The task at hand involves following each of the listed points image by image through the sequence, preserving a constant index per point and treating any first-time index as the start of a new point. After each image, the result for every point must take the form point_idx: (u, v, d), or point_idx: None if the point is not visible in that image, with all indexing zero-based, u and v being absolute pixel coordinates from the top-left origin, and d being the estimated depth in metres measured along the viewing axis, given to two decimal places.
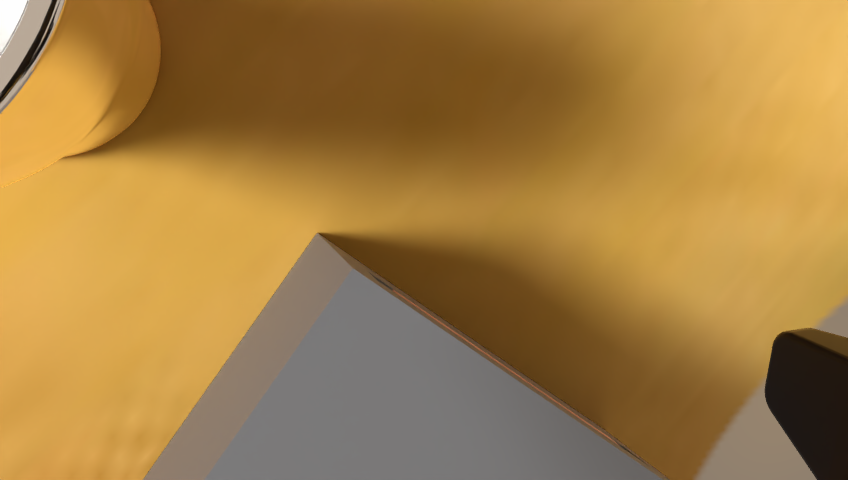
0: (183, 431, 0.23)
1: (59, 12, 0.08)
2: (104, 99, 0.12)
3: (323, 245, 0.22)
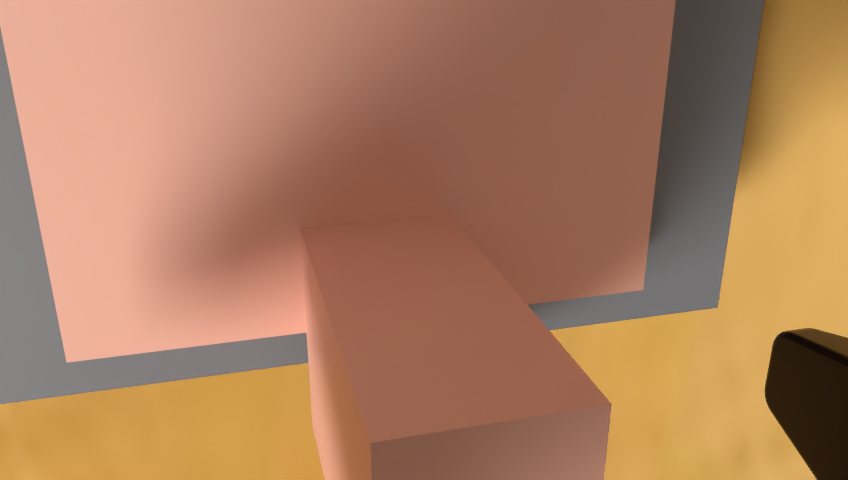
0: None
1: None
2: None
3: None
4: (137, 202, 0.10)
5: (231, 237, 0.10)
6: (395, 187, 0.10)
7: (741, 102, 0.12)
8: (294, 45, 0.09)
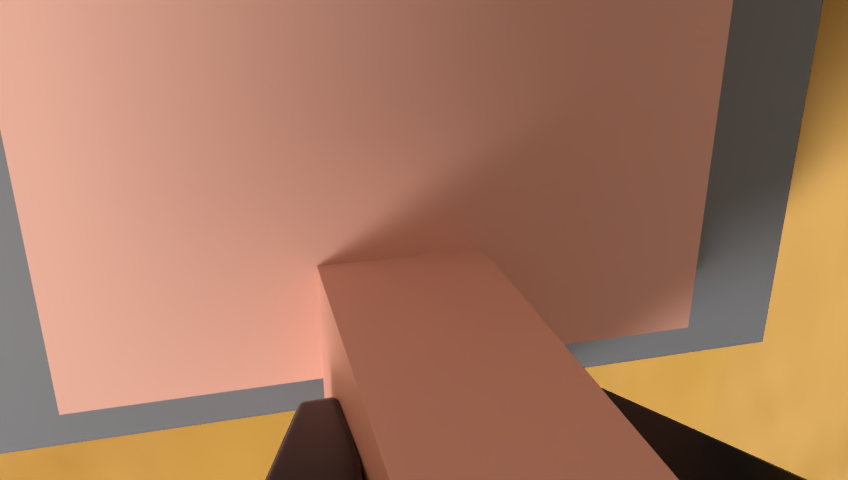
0: None
1: None
2: None
3: None
4: (137, 239, 0.09)
5: (242, 276, 0.09)
6: (421, 219, 0.09)
7: (793, 122, 0.11)
8: (312, 65, 0.08)
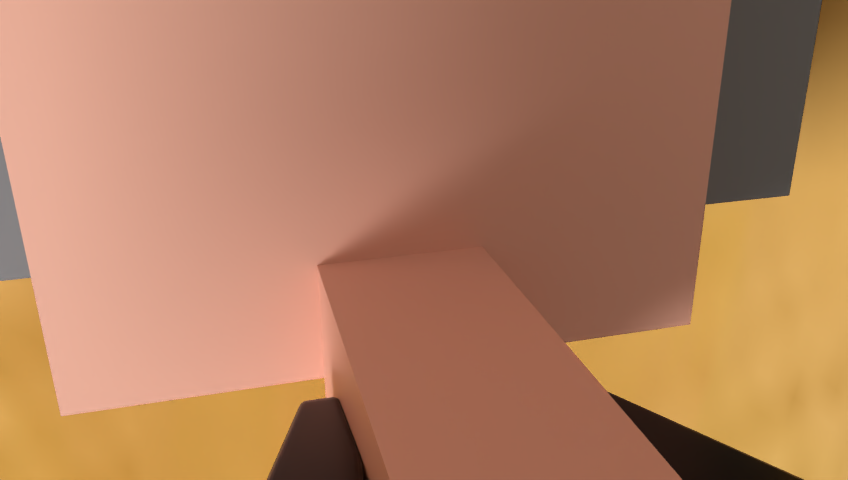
0: None
1: None
2: None
3: None
4: (137, 240, 0.09)
5: (242, 276, 0.09)
6: (421, 217, 0.09)
7: None
8: (310, 65, 0.08)
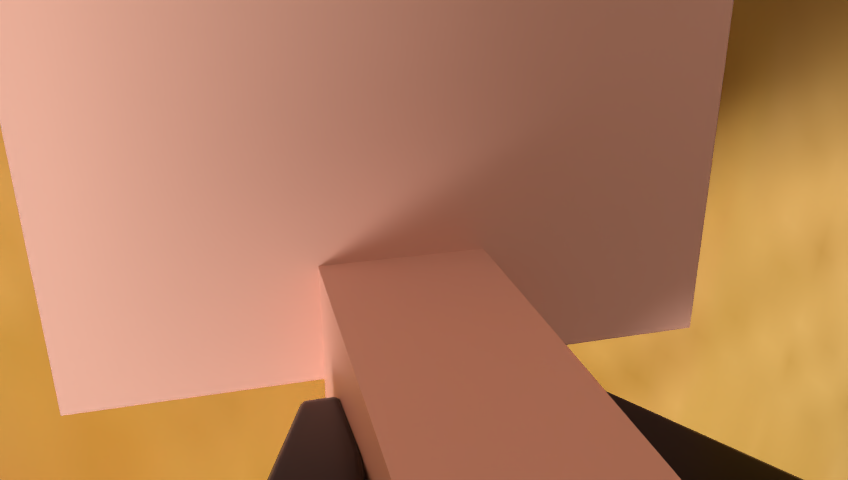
0: None
1: None
2: None
3: None
4: (139, 240, 0.09)
5: (242, 278, 0.09)
6: (422, 219, 0.09)
7: None
8: (313, 66, 0.08)
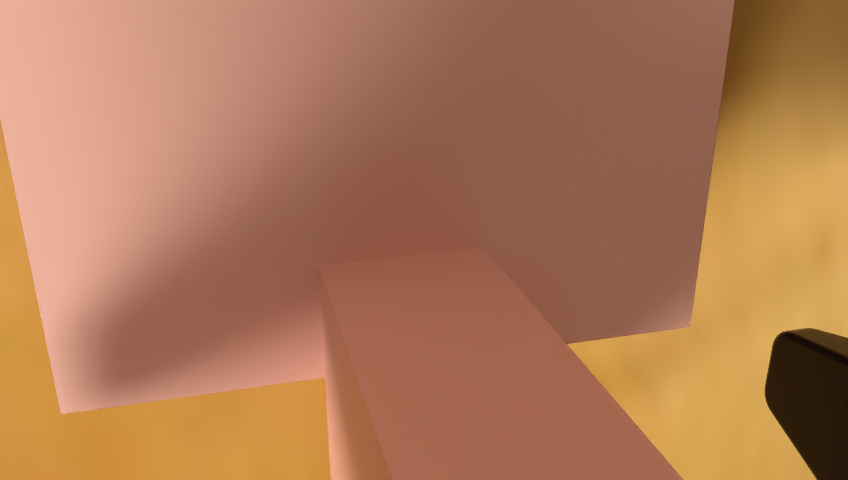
0: None
1: None
2: None
3: None
4: (140, 238, 0.09)
5: (243, 276, 0.09)
6: (423, 218, 0.09)
7: None
8: (314, 64, 0.08)
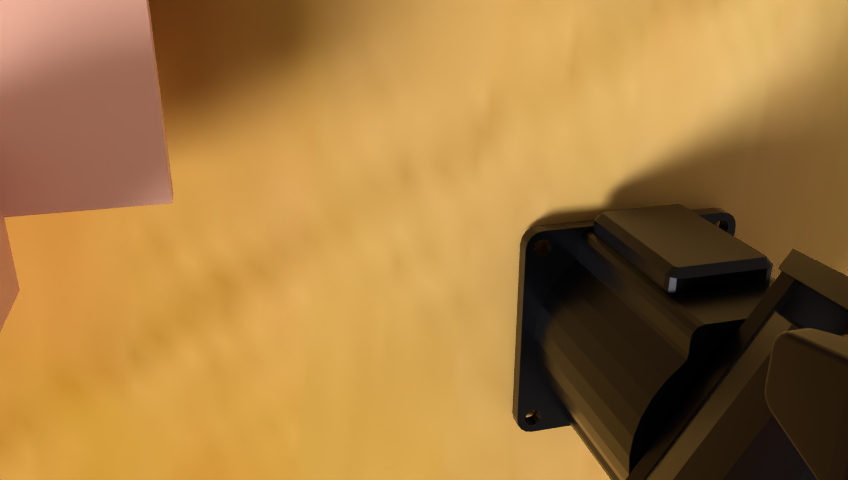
0: None
1: None
2: None
3: None
4: None
5: None
6: None
7: None
8: None
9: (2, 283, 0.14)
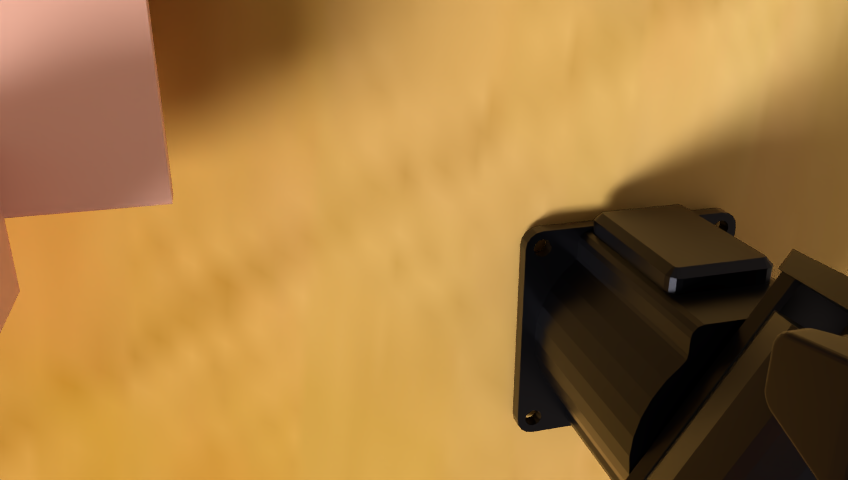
0: None
1: None
2: None
3: None
4: None
5: None
6: None
7: None
8: None
9: (2, 284, 0.14)
